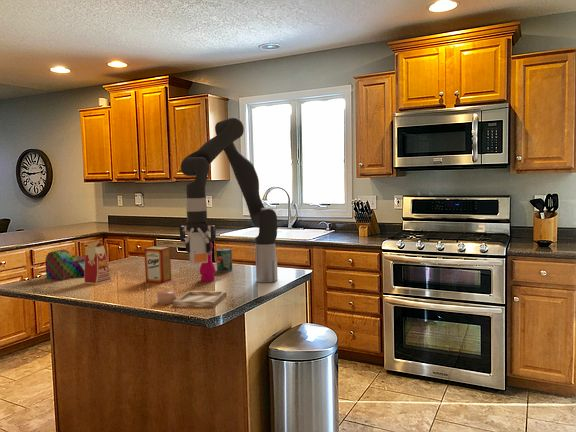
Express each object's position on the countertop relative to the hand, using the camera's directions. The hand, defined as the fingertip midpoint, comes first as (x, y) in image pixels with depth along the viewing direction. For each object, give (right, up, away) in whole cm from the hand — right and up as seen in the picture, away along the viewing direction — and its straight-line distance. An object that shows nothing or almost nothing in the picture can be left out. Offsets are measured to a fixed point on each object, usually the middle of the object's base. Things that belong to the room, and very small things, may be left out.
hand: (198, 252), depth 187 cm
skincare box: (0, -4, 0) cm, 4 cm away
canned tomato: (+2, -14, +62) cm, 64 cm away
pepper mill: (-3, -16, +40) cm, 43 cm away
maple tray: (+1, -19, +2) cm, 19 cm away
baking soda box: (-26, -17, +41) cm, 51 cm away
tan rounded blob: (-13, -19, +2) cm, 23 cm away
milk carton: (-55, -17, +42) cm, 71 cm away
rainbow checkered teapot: (-72, -16, +60) cm, 95 cm away
